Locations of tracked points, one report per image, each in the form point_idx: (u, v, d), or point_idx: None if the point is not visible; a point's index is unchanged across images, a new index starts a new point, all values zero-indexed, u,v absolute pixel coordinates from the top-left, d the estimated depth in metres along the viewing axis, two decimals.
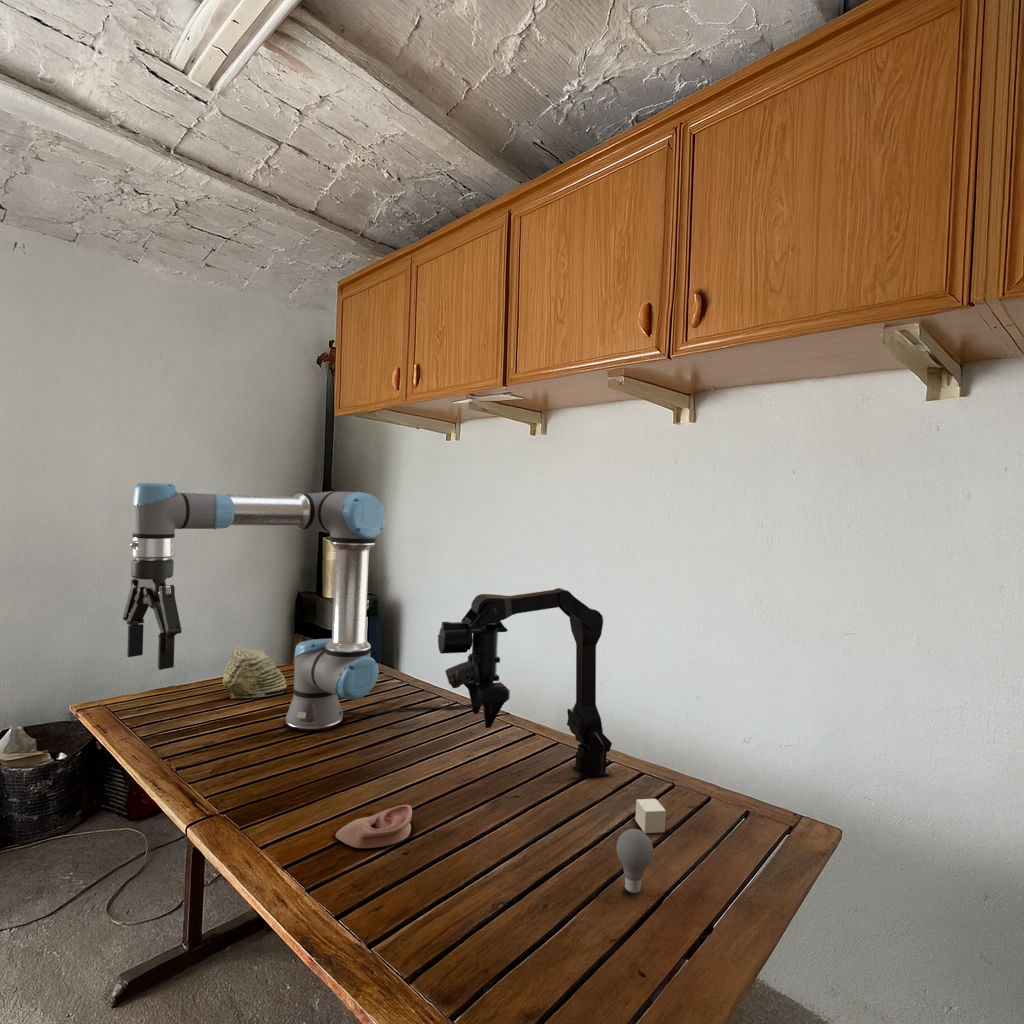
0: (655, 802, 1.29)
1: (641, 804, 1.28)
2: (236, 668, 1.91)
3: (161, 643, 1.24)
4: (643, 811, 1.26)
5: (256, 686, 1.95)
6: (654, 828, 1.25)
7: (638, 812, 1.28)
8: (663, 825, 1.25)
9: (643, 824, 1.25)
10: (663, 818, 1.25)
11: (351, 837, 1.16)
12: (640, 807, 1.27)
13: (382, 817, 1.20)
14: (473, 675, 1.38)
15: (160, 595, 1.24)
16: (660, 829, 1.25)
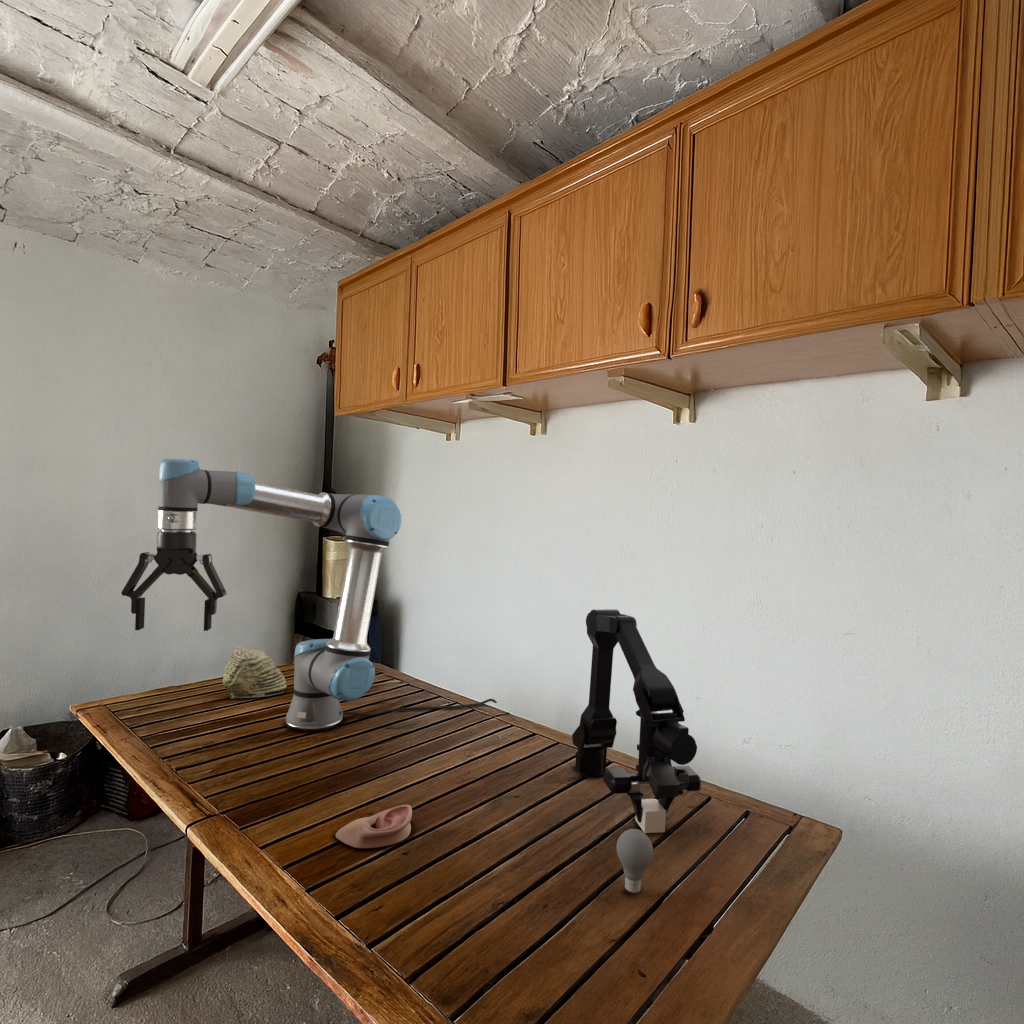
0: (655, 802, 1.29)
1: None
2: (236, 668, 1.91)
3: (208, 606, 1.36)
4: (643, 811, 1.26)
5: (256, 686, 1.95)
6: (654, 828, 1.25)
7: None
8: (663, 825, 1.25)
9: (643, 824, 1.25)
10: (663, 818, 1.25)
11: (351, 837, 1.16)
12: None
13: (382, 817, 1.20)
14: None
15: (205, 563, 1.36)
16: (660, 829, 1.25)
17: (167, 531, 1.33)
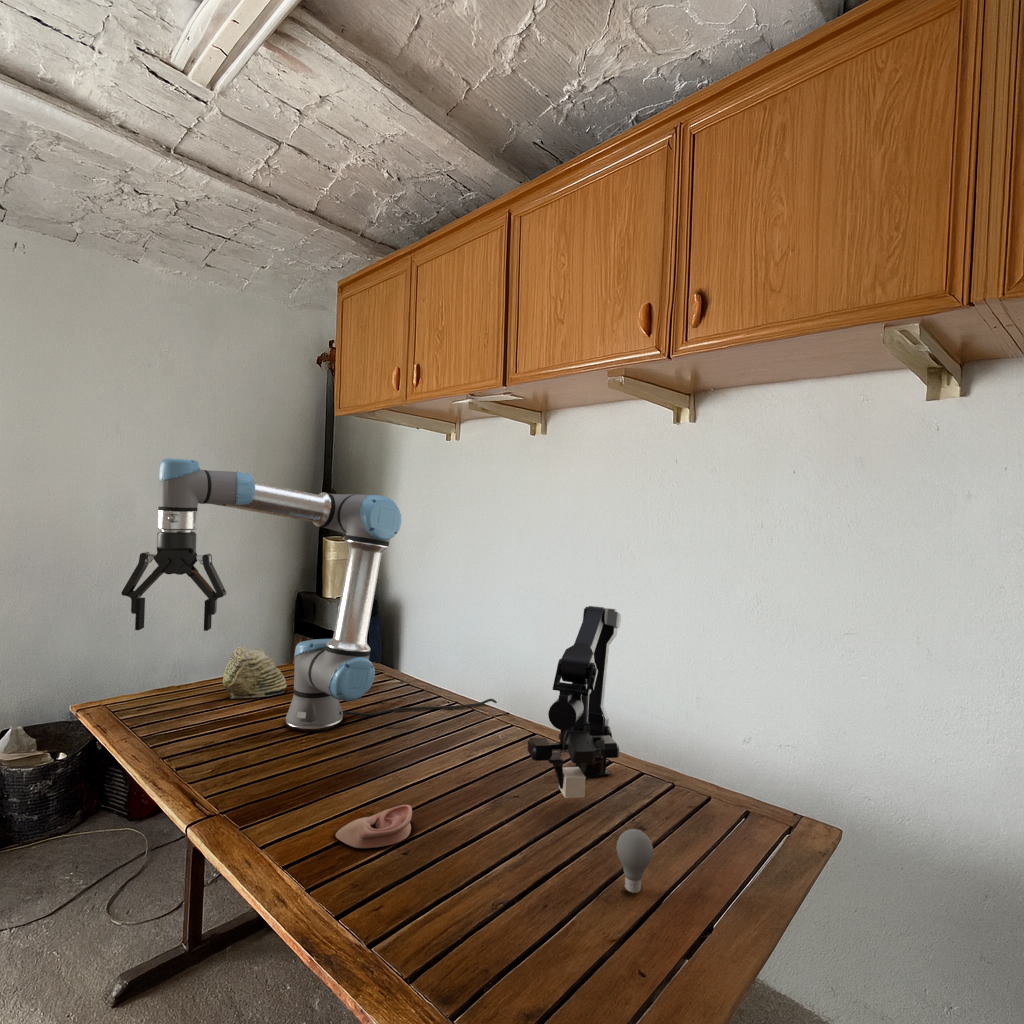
0: (577, 770, 1.35)
1: (563, 771, 1.34)
2: (236, 668, 1.91)
3: (208, 606, 1.36)
4: (564, 778, 1.32)
5: (256, 686, 1.95)
6: (574, 793, 1.32)
7: None
8: (583, 791, 1.32)
9: (564, 790, 1.32)
10: (583, 784, 1.32)
11: (351, 837, 1.16)
12: None
13: (382, 817, 1.20)
14: None
15: (205, 563, 1.36)
16: (580, 794, 1.32)
17: (167, 531, 1.33)
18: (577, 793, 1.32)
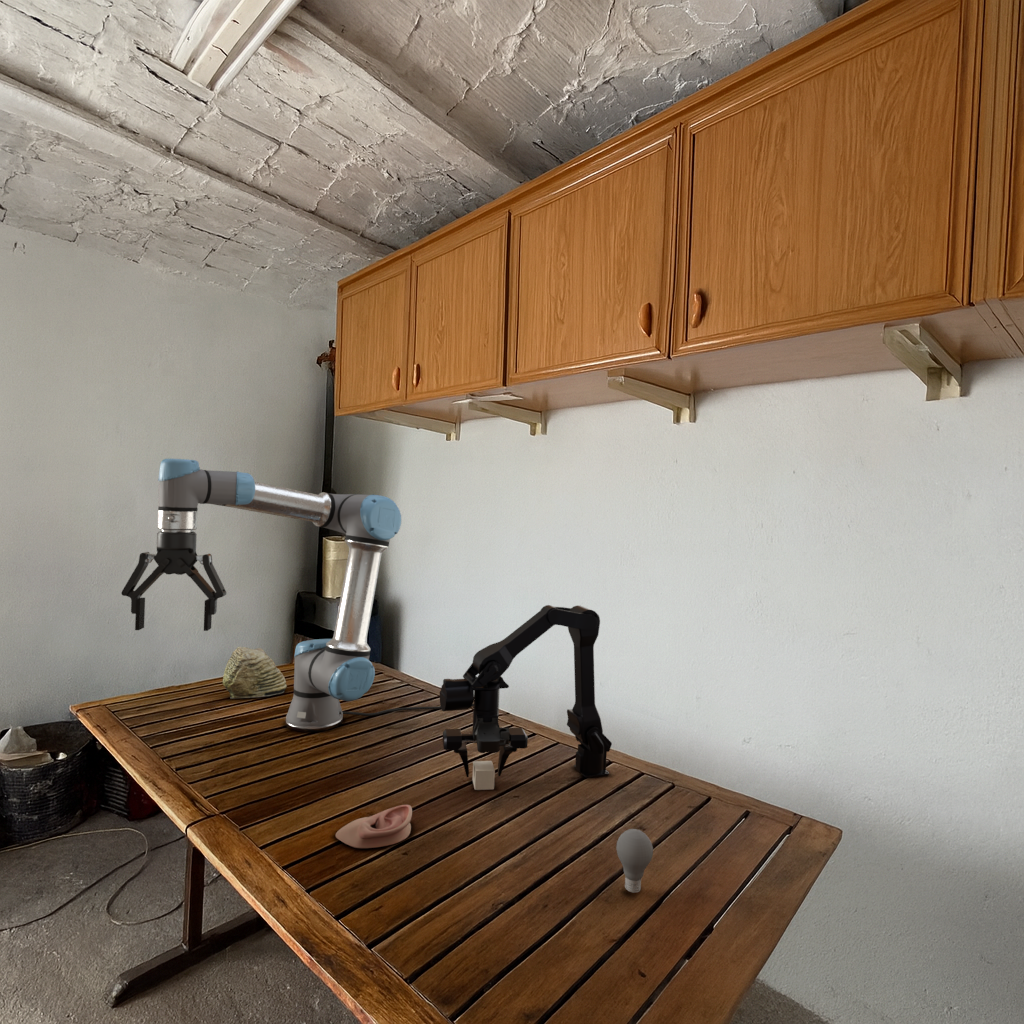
0: (489, 763, 1.44)
1: (475, 765, 1.43)
2: (236, 668, 1.91)
3: (208, 606, 1.36)
4: (475, 770, 1.41)
5: (256, 686, 1.95)
6: (484, 785, 1.40)
7: (473, 772, 1.44)
8: (492, 783, 1.41)
9: (474, 782, 1.41)
10: (492, 777, 1.41)
11: (351, 837, 1.16)
12: (474, 767, 1.43)
13: (382, 817, 1.20)
14: None
15: (205, 563, 1.36)
16: (490, 786, 1.41)
17: (167, 531, 1.33)
18: (486, 785, 1.40)
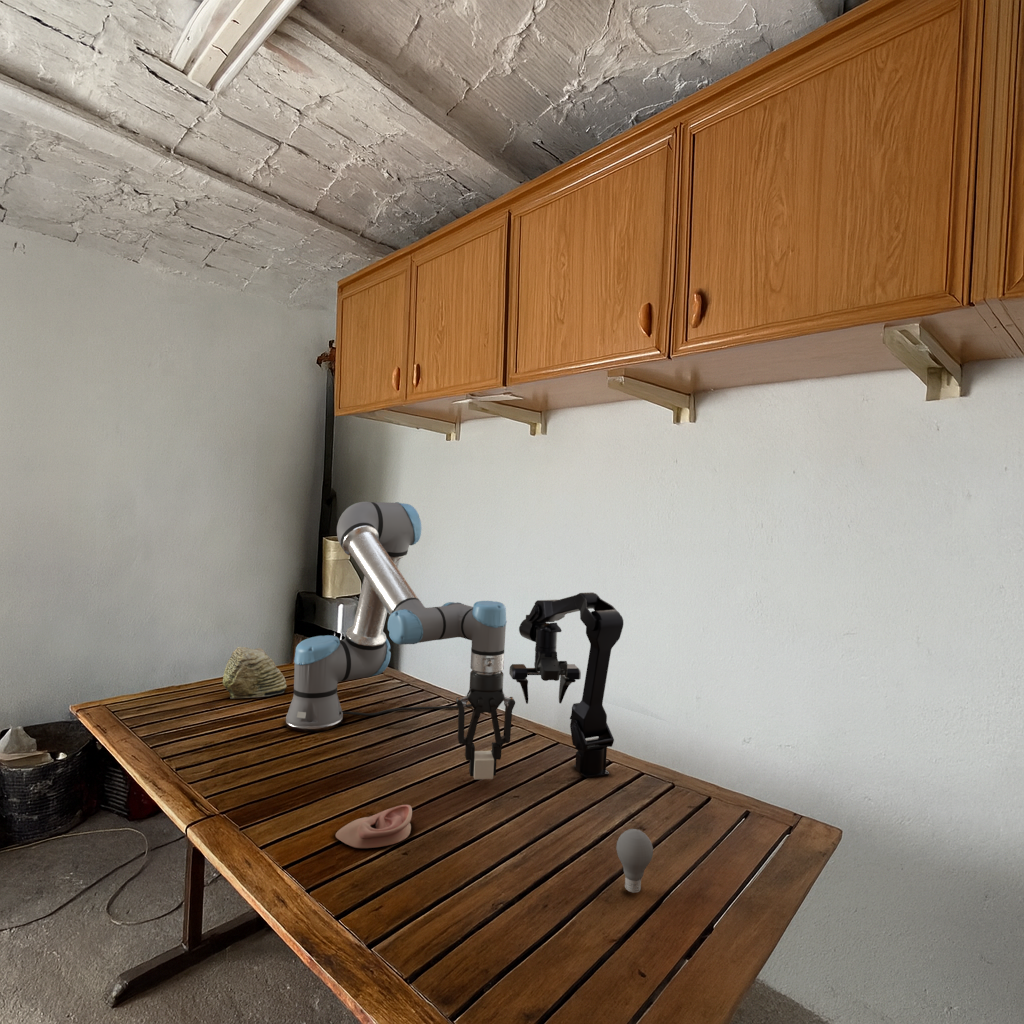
0: (488, 753, 1.44)
1: (475, 754, 1.43)
2: (236, 668, 1.91)
3: None
4: (474, 760, 1.41)
5: (256, 686, 1.95)
6: (483, 775, 1.41)
7: None
8: (492, 773, 1.41)
9: (474, 772, 1.41)
10: (492, 766, 1.41)
11: (351, 837, 1.16)
12: None
13: (382, 817, 1.20)
14: None
15: (510, 708, 1.43)
16: (489, 776, 1.41)
17: (484, 674, 1.40)
18: (486, 775, 1.41)
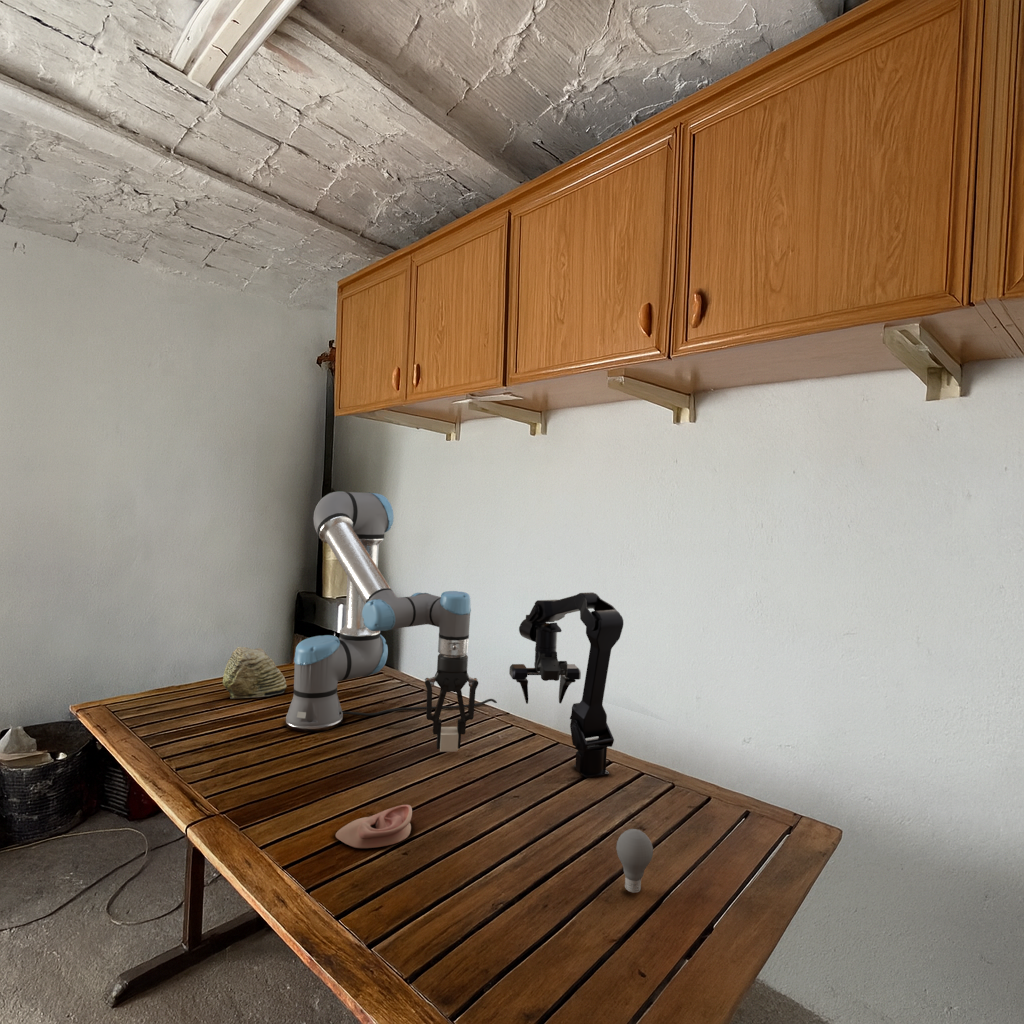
0: (454, 729, 1.59)
1: (442, 729, 1.58)
2: (236, 668, 1.91)
3: (461, 727, 1.58)
4: None
5: (256, 686, 1.95)
6: (448, 748, 1.56)
7: None
8: (456, 746, 1.56)
9: (440, 745, 1.56)
10: (456, 740, 1.56)
11: (351, 837, 1.16)
12: None
13: (382, 817, 1.20)
14: None
15: (473, 687, 1.58)
16: (454, 748, 1.56)
17: (450, 657, 1.55)
18: (451, 748, 1.56)
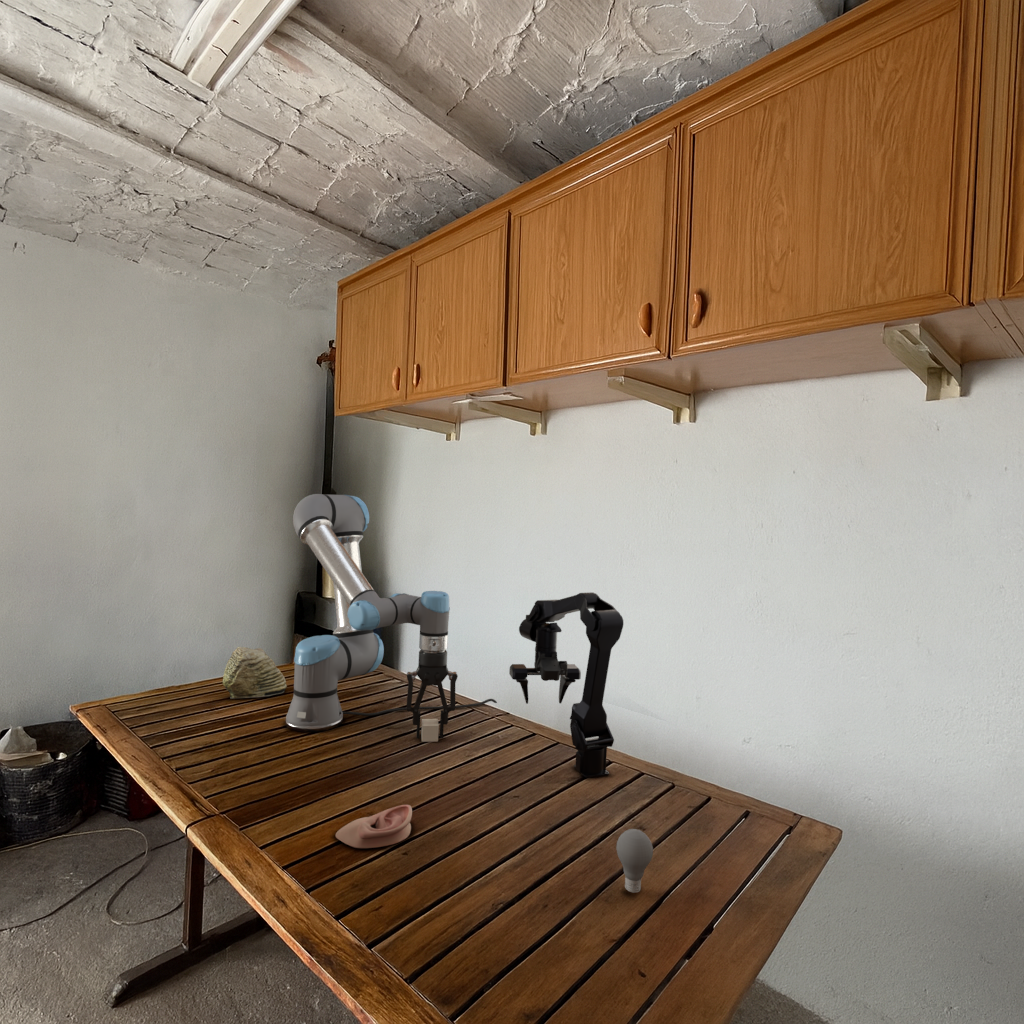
0: (435, 720, 1.70)
1: (423, 721, 1.69)
2: (236, 668, 1.91)
3: (443, 718, 1.68)
4: (422, 726, 1.67)
5: (256, 686, 1.95)
6: (429, 738, 1.66)
7: None
8: (437, 736, 1.67)
9: (421, 735, 1.67)
10: (437, 731, 1.67)
11: (351, 837, 1.16)
12: (422, 723, 1.69)
13: (382, 817, 1.20)
14: None
15: (453, 680, 1.68)
16: (434, 739, 1.67)
17: (430, 652, 1.65)
18: (431, 738, 1.66)
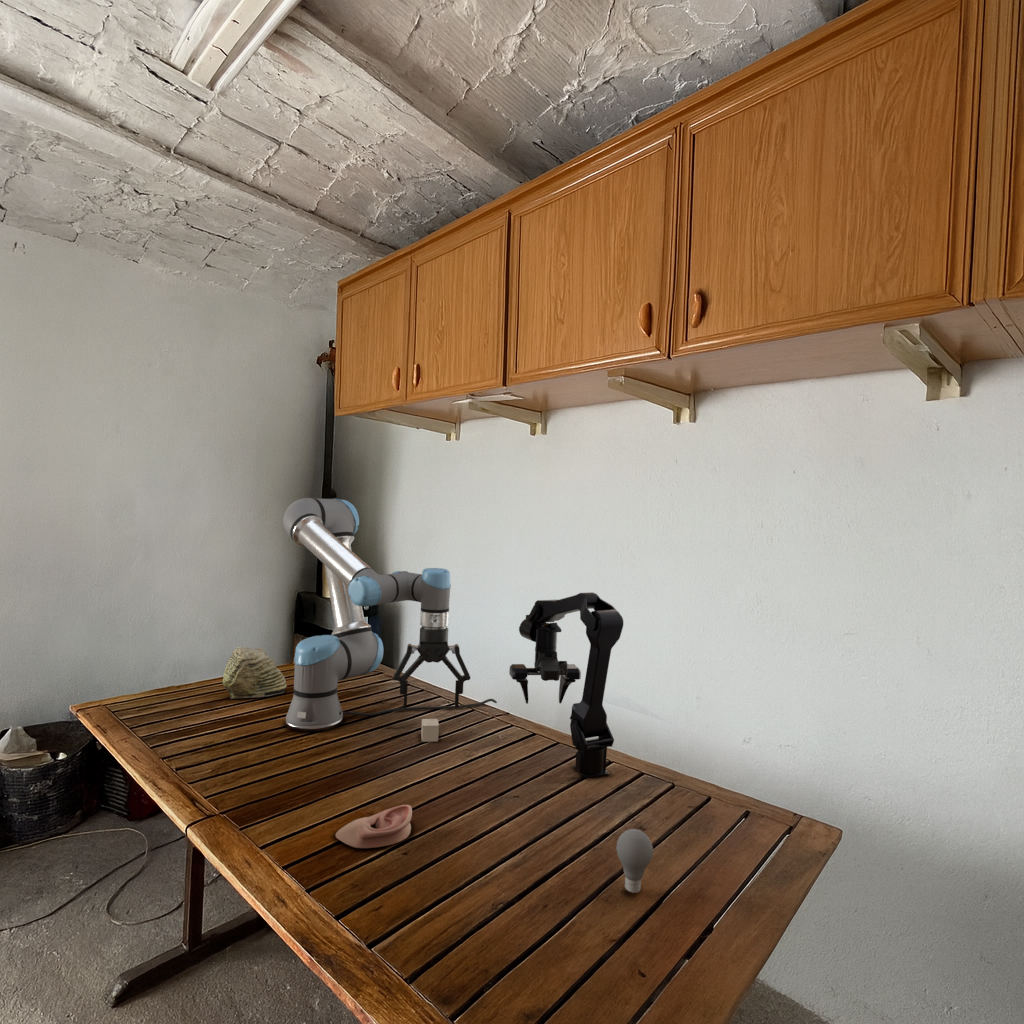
0: (435, 720, 1.70)
1: (423, 721, 1.69)
2: (236, 668, 1.91)
3: (459, 687, 1.69)
4: (422, 726, 1.67)
5: (256, 686, 1.95)
6: (429, 738, 1.66)
7: None
8: (437, 736, 1.67)
9: (421, 735, 1.67)
10: (437, 731, 1.67)
11: (351, 837, 1.16)
12: (422, 723, 1.69)
13: (382, 817, 1.20)
14: None
15: (457, 653, 1.68)
16: (434, 739, 1.67)
17: (431, 629, 1.65)
18: (431, 738, 1.66)
